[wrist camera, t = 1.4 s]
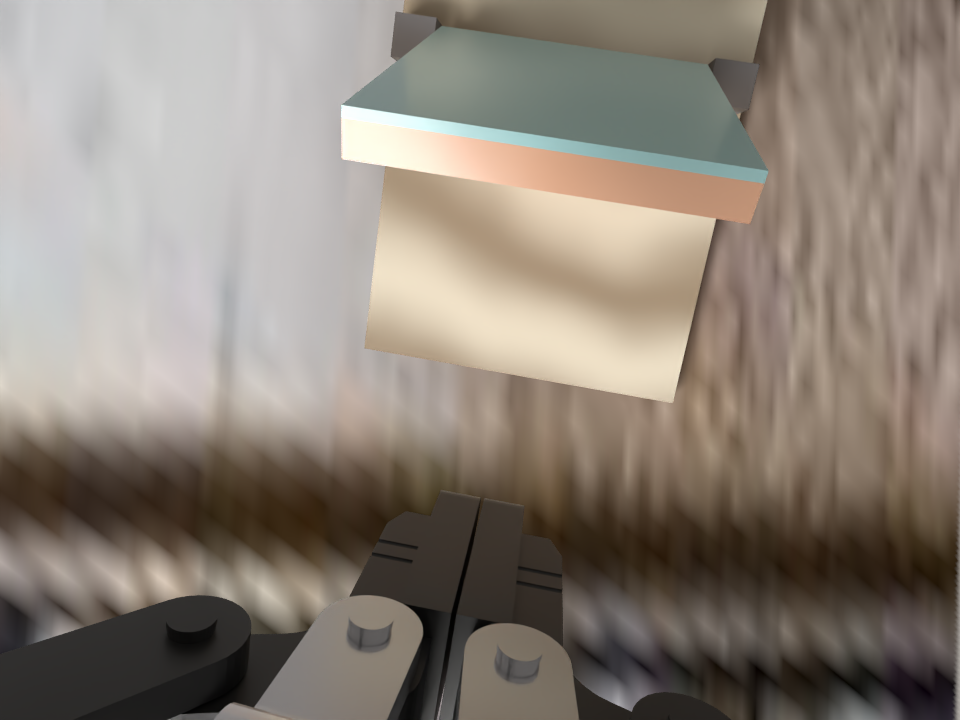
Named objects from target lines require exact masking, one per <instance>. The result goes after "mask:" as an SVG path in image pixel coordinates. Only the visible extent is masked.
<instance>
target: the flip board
mask: <svg viewBox="0 0 960 720" xmlns="http://www.w3.org/2000/svg"><path fill="white" fill-rule="evenodd" d="M766 5H767V0H405V1H404V10H403V13H401V12H396V14H395V23H394V32H393V41H392V49H391V57H392V58H394V59H395V60H396V61H398V60H399V59H400V58H402V57H403V56H404V55H405V54H407V53H408V52H409V51H411V50H412V49H413V48H414V47H416V46H417V45H418V44H419V43H421V42H422V41H423V40H425V39H426V38H427V37H428V36H430V35H431V34H432V33H433V32H435V31H436V30H437V29H438V28H440V27H441V26H446V27H453V28H460V29H467V30H474V31H481V32H487V33H494V34H501V35H508V36H515V37H522V38H529V39H536V40H543V41H550V42H556V43H563V44H570V45H577V46H584V47H591V48H598V49H605V50H612V51H618V52H625V53H632V54H639V55H646V56H653V57H660V58H667V59H674V60H681V61H687V62H694V63H701V64H708V66H709V68H710V69H711V71H712V73H713V75H714V76H715V78H716V80H717V82H718V83H719V85H720V87H721V89H722V90H723V92H724V94H725V96H726V97H727V99H728V101H729V103H730V104H731V106H732V108H733V109H734V111H735V113H736V115H737V116H738V118H739V119H740V115H741V113H742V112H744V111H746V110H749V106H750V102H751V98H752V94H753V90H754V85H755V81H756V77H757V73H758V69H759V64H755V63H753V60H754V56H755V51H756V47H757V43H758V39H759V34H760V30H761V26H762V22H763V17H764V13H765V9H766ZM715 221H716V219H715V218H709V217H703V216H696V215H690V214H684V213H677V212H671V211H665V210H659V209H652V208H646V207H640V206H634V205H627V204H621V203H615V202H608V201H602V200H596V199H590V198H583V197H577V196H571V195H565V194H558V193H552V192H546V191H540V190H533V189H527V188H521V187H514V186H508V185H502V184H496V183H489V182H483V181H477V180H471V179H464V178H458V177H452V176H446V175H439V174H433V173H427V172H420V171H414V170H408V169H402V168H395V167H389V166H385V175H384V183H383V192H382V201H381V209H380V218H379V227H378V235H377V244H376V253H375V261H374V270H373V279H372V287H371V296H370V305H369V313H368V322H367V331H366V339H365V348H366V349H372V350H377V351H383V352H389V353H394V354H400V355H405V356H411V357H417V358H422V359H428V360H434V361H439V362H445V363H450V364H456V365H462V366H467V367H473V368H479V369H484V370H490V371H495V372H501V373H507V374H512V375H518V376H524V377H529V378H535V379H540V380H546V381H552V382H557V383H563V384H569V385H574V386H580V387H585V388H591V389H597V390H602V391H608V392H614V393H619V394H625V395H630V396H636V397H642V398H647V399H653V400H659V401H664V402H670V403H673V400H674V395H675V391H676V387H677V383H678V378H679V374H680V370H681V366H682V361H683V357H684V353H685V349H686V344H687V340H688V336H689V332H690V327H691V323H692V319H693V315H694V310H695V306H696V302H697V298H698V293H699V289H700V285H701V281H702V276H703V272H704V268H705V264H706V259H707V255H708V251H709V247H710V242H711V238H712V234H713V230H714V226H715Z"/></svg>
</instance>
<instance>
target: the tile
mask: <svg viewBox="0 0 960 720" xmlns="http://www.w3.org/2000/svg"><path fill="white" fill-rule="evenodd" d="M341 124H342V159H345V160H352V161H358V162H364V163H370V164H377V165H383V166H389V167H395V168H402V169H408V170H414V171H420V172H427V173H433V174H439V175H446V176H452V177H458V178H464V179H471V180H477V181H483V182H489V183H496V184H502V185H508V186H514V187H521V188H527V189H533V190H540V191H546V192H552V193H558V194H565V195H571V196H577V197H583V198H590V199H596V200H602V201H608V202H615V203H621V204H627V205H634V206H640V207H646V208H652V209H659V210H665V211H671V212H677V213H684V214H690V215H696V216H703V217H709V218H715V219H721V220H728V221H734V222H740V223H746V224H750V223H751V220H752V217H753V214H754V211H755V208H756V206H757V203H758V200H759V197H760V194H761V191H762V188H763V186H764V183H765V180H766V177H767V174H768V169H767V167H766V165H765V164H764V162H763V160H762V158H761V157H760V155H759V153H758V151H757V150H756V148H755V146H754V144H753V143H752V141H751V139H750V137H749V136H748V134H747V132H746V130H745V129H744V127H743V125H742V123H741V122H740V120H739V118H738V116H737V115H736V113H735V111H734V109H733V108H732V106H731V104H730V103H729V101H728V99H727V97H726V96H725V94H724V92H723V90H722V89H721V87H720V85H719V83H718V82H717V80H716V78H715V76H714V75H713V73H712V71H711V69H710V68H709V66H708V64H701V63H694V62H687V61H681V60H674V59H667V58H660V57H653V56H646V55H639V54H632V53H625V52H618V51H612V50H605V49H598V48H591V47H584V46H577V45H570V44H563V43H556V42H550V41H543V40H536V39H529V38H522V37H515V36H508V35H501V34H494V33H487V32H481V31H474V30H467V29H460V28H453V27H446V26H441V27H440V28H438V29H437V30H436V31H435V32H433V33H432V34H431V35H430V36H428V37H427V38H426V39H425V40H423V41H422V42H421V43H419V44H418V45H417V46H416V47H414V48H413V49H412V50H411V51H409V52H408V53H407V54H405V55H404V56H403V57H402V58H400V59H399V60H398V61H397V62H395V63H394V64H393V65H392V66H390V67H389V68H388V69H386V70H385V71H384V72H383V73H381V74H380V75H379V76H378V77H376V78H375V79H374V80H372V81H371V82H370V83H369V84H367V85H366V86H365V87H364V88H362V89H361V90H360V91H359V92H357V93H356V94H355V95H353V96H352V97H351V98H350V99H348V100H347V101H346V102H345V103H343V104H342V105H341Z"/></svg>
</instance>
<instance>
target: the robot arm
mask: <svg viewBox="0 0 960 720" xmlns="http://www.w3.org/2000/svg"><path fill="white" fill-rule="evenodd" d="M480 501H481V498H480V497H475V496H470V495H464V494H459V493H454V492H449V491H443V490H441V491H440V493H439V496H438V498H437V501H436V503H435V506H434V508H433V511H432V514H431V516H427V515H422V514H417V513H412V512H407V511H406V512H404V513H403V514H401V515H399V516H398V517H396V518H395V519H393V520H391V521H390V522H388V523H387V525H386V527H385V528H384V530H383V532H382V534H381V536H380V538H379V542H377V544H376V546H375V548H374V550H373V552H372V556H370V558H369V560H368V562H367V563H366V565H365V567H364V569H363V571H362V573H361V575H360V577H359V579H358V581H357V583H356V585H355V587H354V589H353V591H352V593H351V595H350V597H348V598H344V599H341V600H338V601H336V602H334V603H332V604H330V605H329V606H328V607H326V608H325V609H324V610H323V611H322V612H321V613H320V615H319V616H318V617H317V619H316V620H315V622H314V623H313V625H312V626H311V627H310V629H309V630H307V631H303V632H297V633H288V634H252V635H251V620H250V618H249V615H248V614H247V613H246V611H245V610H244V609H243V608H242V607H240V606H239V605H237V604H236V603H234V602H232V601H229V600H227V599H223V598H219V597H214V596H201V595H197V596H186V597H180V598H175V599H171V600H168V601H165V602H161V603H158V604H155V605H152V606H149V607H146V608H143V609H140V610H137V611H133V612H130V613H127V614H124V615H121V616H118V617H115V618H112V619H109V620H105V621H102V622H99V623H96V624H93V625H90V626H87V627H84V628H81V629H77V630H74V631H71V632H68V633H65V634H62V635H59V636H56V637H53V638H49V639H46V640H43V641H40V642H37V643H34V644H31V645H28V646H25V647H21V648H18V649H15V650H12V651H9V652H6V653H3V654H0V720H437V715H438V711H439V707H440V702H441V698H442V694H443V699H442V705H441V711H440V717H439V720H731V719H730V718H728V717H727V716H726V715H725V714H723V713H722V712H721V711H719V710H718V709H716V708H714V707H713V706H711V705H709V704H707V703H705V702H703V701H701V700H698V699H696V698H693V697H690V696H687V695H683V694H678V693H668V692H662V693H654V694H651V695H647V696H646V697H644V698H642V699H641V700H639V701H638V702H637V703H636V705H635V706H634V708H633V710H632V712H631V711H629V710H626V709H624V708H622V707H620V706H618V705H615V704H613V703H611V702H609V701H607V700H605V699H603V698H601V697H599V696H598V695H596V694H594V693H593V692H591V691H590V690H589V689H587V688H586V687H585V686H584V685H582V684H581V683H580V682H579V681H578V680H577V679H576V678H575V676H574V675H573V672H572V665H571V662H570V659H569V657H568V655H567V653H566V651H565V650H564V649H563V607H562V556H561V555H560V553H559V552H558V550H557V549H556V547H555V546H554V544H553V543H552V542H551V540H550V539H547V538H542V537H537V536H531V535H526V534H522V525H523V515H524V506H523V505H517V504H512V503H507V502H502V501H497V500H491V499H486V498H484V502H483V506H482V510H481V514H480V519H479V523H478V527H477V531H476V526H477V520H478V514H479V508H480ZM475 532H476V535H475ZM474 538H475V540H474ZM444 685H445V687H444ZM443 689H444V693H443Z"/></svg>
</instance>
